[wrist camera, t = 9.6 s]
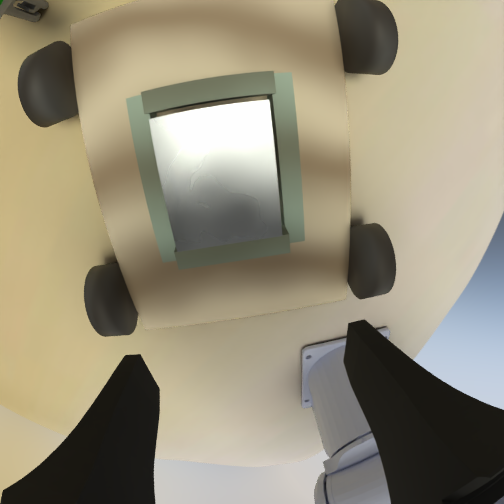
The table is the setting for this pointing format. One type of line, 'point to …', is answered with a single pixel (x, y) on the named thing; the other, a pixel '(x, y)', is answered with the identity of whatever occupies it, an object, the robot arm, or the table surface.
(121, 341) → the table surface
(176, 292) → the chassis
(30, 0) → the mechanical component
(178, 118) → the block
